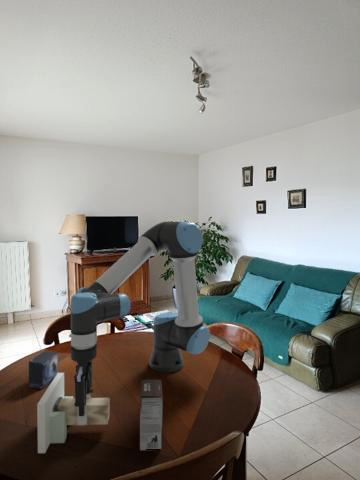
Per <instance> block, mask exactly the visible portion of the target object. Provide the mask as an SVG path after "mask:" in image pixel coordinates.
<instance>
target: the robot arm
mask: <svg viewBox="0 0 360 480" xmlns="http://www.w3.org/2000/svg"><path fill="white" fill-rule="evenodd" d="M203 244H204V236H203V233H202V230H201V229H200V227H199V225H197V224H196V223H194V222H189V221H161V222H159V223H157V224H155V225H153V226H151V227H150V228H149V229H147V230H146V231H145V232H144V233H143V234H141V236H139V237H138V239H137V242H136V243H135V244H134V245H133V246H132V247H131V248H130V249H128V250H127V252H126V253H124V254H123V255H122V256H121V257H120V258H119V259H118V260H117V261H116V262H114V263H113V264H112V265H111V266H110V267H109V268H108V269H107V270H106V271H105V272H104V273H102V275H101V276H99V277H98V278H97V279H96V280H94V282H93V283H91V284H90V285H89V286H83V287H81V288H78V290H77V291H76V292H75V294H74V295H72V296H71V297H70V309H69V312H70V334H69V335H68V337H69V338H70V346H71V347H70V359H71V360H72V361H73V362H76V363H77V364H76V366H75V373H76V374H75V375H74V376H73V379H74V398H75V404H74V405H75V407H77V425H76V426H88V425H87V403H86V398H92V397H91V394H93V393H94V389H93V388H92V387H93V360H95V358H97V355H98V354H97V353H98V351H97V350H98V349H97V347H98V346H97V345H98V344H97V342H98V330H97V329H98V323H102V322H106V321H109V320H114V319H117V318H118V319H120V318H121V317H124V316H127V315H128V314H129V312H130V310H131V300H130V298H129V296H128V295H127V294H126V293H123V292H122V293H118V292H117V293H114V292H115V291H116V290H117V289H118V288H120V286H121V285H123V283H125V281H126V280H128V279H129V277H131V275H133V273H135V272H136V271H137V270H138V269H139V268H140V267H141V266H142V265H143V264H144V263H145V262H146V261H147V260H148V259H149V258H150V257H151V256H152V257H153V256H155V255H157V254H158V253H159V252H161V251H168V259H170V260H171V261H172V262H173V263H172V266H173V275H174V284H175V285H174V287H175V297H176V308H177V312H164V313H160V314H157V315H156V316H154V318H153V349H152V352H151V355H150V358H149V367H150V369H152V370H153V371H155V372H158V373H163V374H164V373H167V374H169V373H173V372H177V371H180V370H181V369H183V367H184V358H183V355H182V351H184V352H186V353H188V354H193V355H199V354H201V353H202V352H204V351H205V349H206V348H207V346H208V344H209V342H210V338H211V332H210V328H208V326H205V325H204V320H203V319H204V318H203V316H201V315H200V314H199V300H198V288H197V274H196V264H195V263H196V261H195V259H196V258H197V257H198V256H199V252H200V250H201V249H202V245H203ZM113 293H114V294H113ZM181 350H182V351H181ZM91 388H92V389H91Z"/></svg>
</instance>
